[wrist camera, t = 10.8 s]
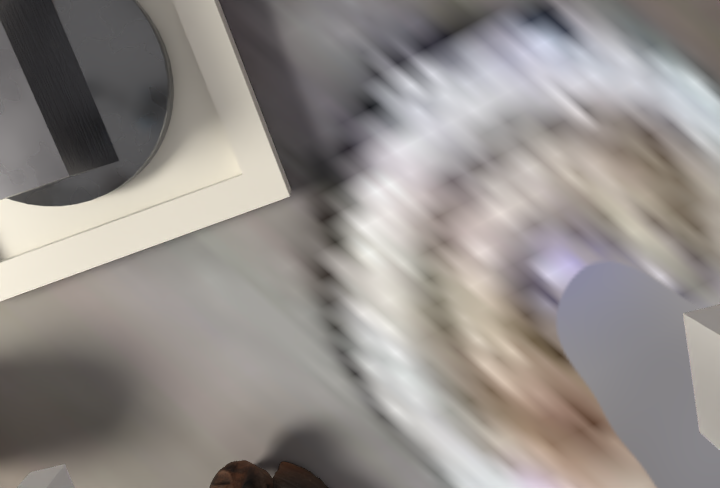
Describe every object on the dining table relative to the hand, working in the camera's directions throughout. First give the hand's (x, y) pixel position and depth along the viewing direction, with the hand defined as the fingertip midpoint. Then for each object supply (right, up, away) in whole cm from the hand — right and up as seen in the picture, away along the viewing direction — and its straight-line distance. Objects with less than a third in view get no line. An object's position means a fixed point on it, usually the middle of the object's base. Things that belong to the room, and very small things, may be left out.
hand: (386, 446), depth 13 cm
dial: (-17, +13, +21) cm, 30 cm away
